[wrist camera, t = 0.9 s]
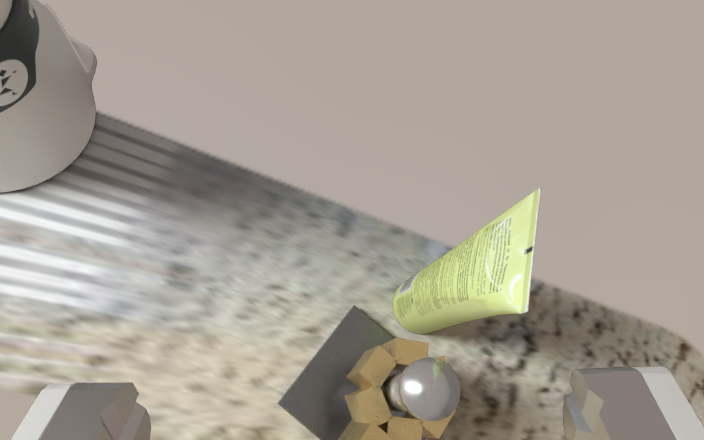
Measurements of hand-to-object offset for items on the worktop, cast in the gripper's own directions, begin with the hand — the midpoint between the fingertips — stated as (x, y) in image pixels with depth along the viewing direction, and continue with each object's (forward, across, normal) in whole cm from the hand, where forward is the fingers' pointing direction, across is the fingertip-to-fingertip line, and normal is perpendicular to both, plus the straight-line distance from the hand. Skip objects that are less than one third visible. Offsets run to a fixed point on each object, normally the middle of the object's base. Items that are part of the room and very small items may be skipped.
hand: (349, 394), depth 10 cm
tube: (+28, -4, +25) cm, 38 cm away
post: (+21, +1, +28) cm, 35 cm away
